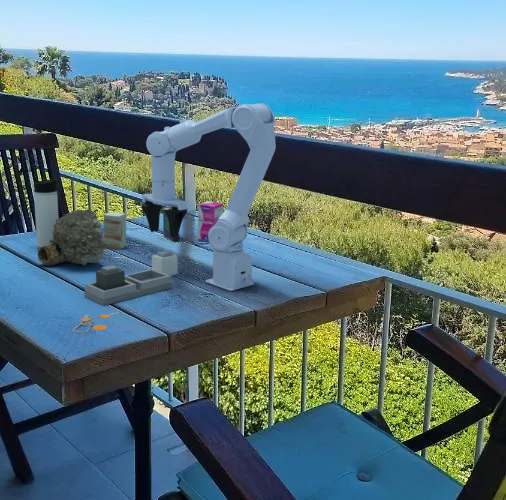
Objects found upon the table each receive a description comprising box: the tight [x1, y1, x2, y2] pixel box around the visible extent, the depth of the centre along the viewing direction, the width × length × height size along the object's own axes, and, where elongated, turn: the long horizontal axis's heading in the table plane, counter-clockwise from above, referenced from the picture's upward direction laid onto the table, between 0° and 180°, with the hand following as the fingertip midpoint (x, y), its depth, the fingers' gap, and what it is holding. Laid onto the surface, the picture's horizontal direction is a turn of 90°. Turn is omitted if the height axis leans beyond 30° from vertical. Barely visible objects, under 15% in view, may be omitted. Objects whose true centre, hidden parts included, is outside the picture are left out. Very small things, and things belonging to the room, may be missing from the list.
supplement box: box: [197, 200, 224, 243], centre depth 205 cm, size 6×6×12 cm
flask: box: [162, 207, 180, 243], centre depth 206 cm, size 9×3×11 cm, turn 28°
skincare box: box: [103, 211, 127, 251], centre depth 195 cm, size 5×4×10 cm
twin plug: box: [95, 264, 126, 291], centre depth 153 cm, size 4×5×6 cm
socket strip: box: [83, 268, 173, 306], centre depth 157 cm, size 8×19×3 cm, turn 135°
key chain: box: [71, 311, 120, 334], centre depth 139 cm, size 13×7×1 cm, turn 172°
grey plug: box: [151, 250, 179, 277], centre depth 171 cm, size 4×5×6 cm
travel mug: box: [33, 178, 60, 251], centre depth 191 cm, size 6×7×20 cm
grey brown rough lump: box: [37, 208, 107, 267], centre depth 177 cm, size 18×14×15 cm
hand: (164, 233), depth 170 cm, fingers open, 7 cm apart
